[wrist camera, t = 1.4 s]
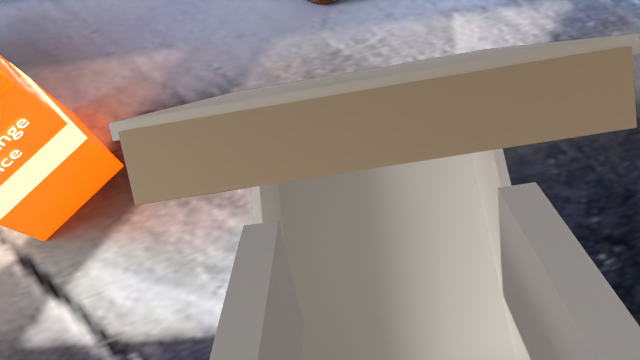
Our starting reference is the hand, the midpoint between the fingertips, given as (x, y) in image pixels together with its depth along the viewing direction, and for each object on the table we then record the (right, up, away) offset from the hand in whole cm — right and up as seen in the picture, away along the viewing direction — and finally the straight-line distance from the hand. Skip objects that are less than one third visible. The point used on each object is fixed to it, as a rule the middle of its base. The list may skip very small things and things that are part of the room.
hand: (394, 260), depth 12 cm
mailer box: (+3, -4, +30) cm, 31 cm away
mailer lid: (+1, +4, +16) cm, 17 cm away
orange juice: (-23, +2, +36) cm, 43 cm away
